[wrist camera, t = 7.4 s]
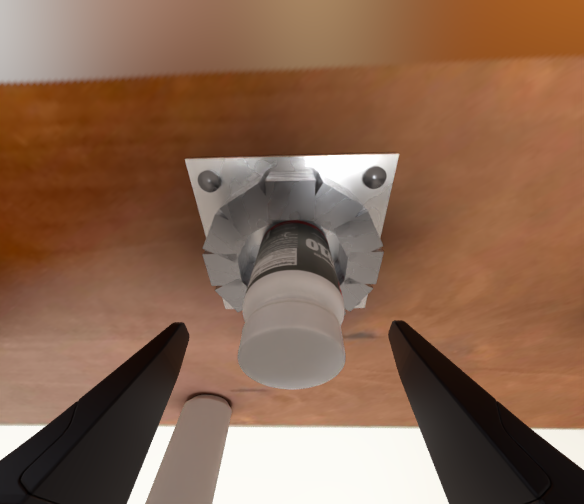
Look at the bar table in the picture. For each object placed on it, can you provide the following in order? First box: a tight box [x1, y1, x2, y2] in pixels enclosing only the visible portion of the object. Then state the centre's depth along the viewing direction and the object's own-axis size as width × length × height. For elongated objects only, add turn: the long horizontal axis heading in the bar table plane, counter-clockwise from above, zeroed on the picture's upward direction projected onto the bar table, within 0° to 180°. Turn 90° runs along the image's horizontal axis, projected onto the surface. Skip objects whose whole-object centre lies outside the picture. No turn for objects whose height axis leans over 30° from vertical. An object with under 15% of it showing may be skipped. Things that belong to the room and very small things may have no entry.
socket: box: [185, 153, 399, 315], centre depth 14 cm, size 12×12×3 cm
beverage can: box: [145, 395, 232, 504], centre depth 24 cm, size 6×6×12 cm
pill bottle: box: [238, 220, 346, 389], centre depth 11 cm, size 5×5×8 cm
